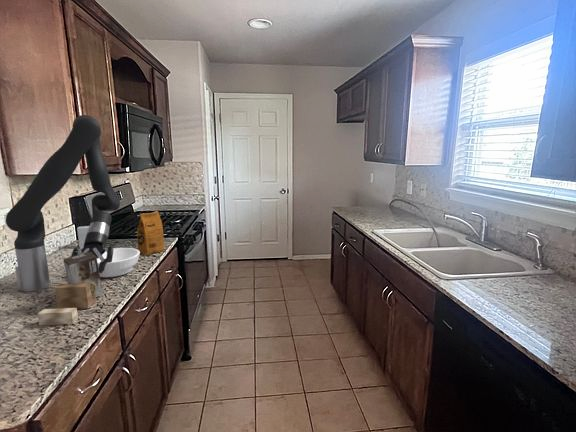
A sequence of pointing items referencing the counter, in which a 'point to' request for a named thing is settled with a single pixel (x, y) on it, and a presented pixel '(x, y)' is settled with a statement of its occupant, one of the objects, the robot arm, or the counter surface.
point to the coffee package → (150, 233)
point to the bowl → (120, 262)
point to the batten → (57, 316)
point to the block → (74, 296)
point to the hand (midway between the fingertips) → (87, 273)
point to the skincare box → (82, 235)
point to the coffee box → (84, 271)
